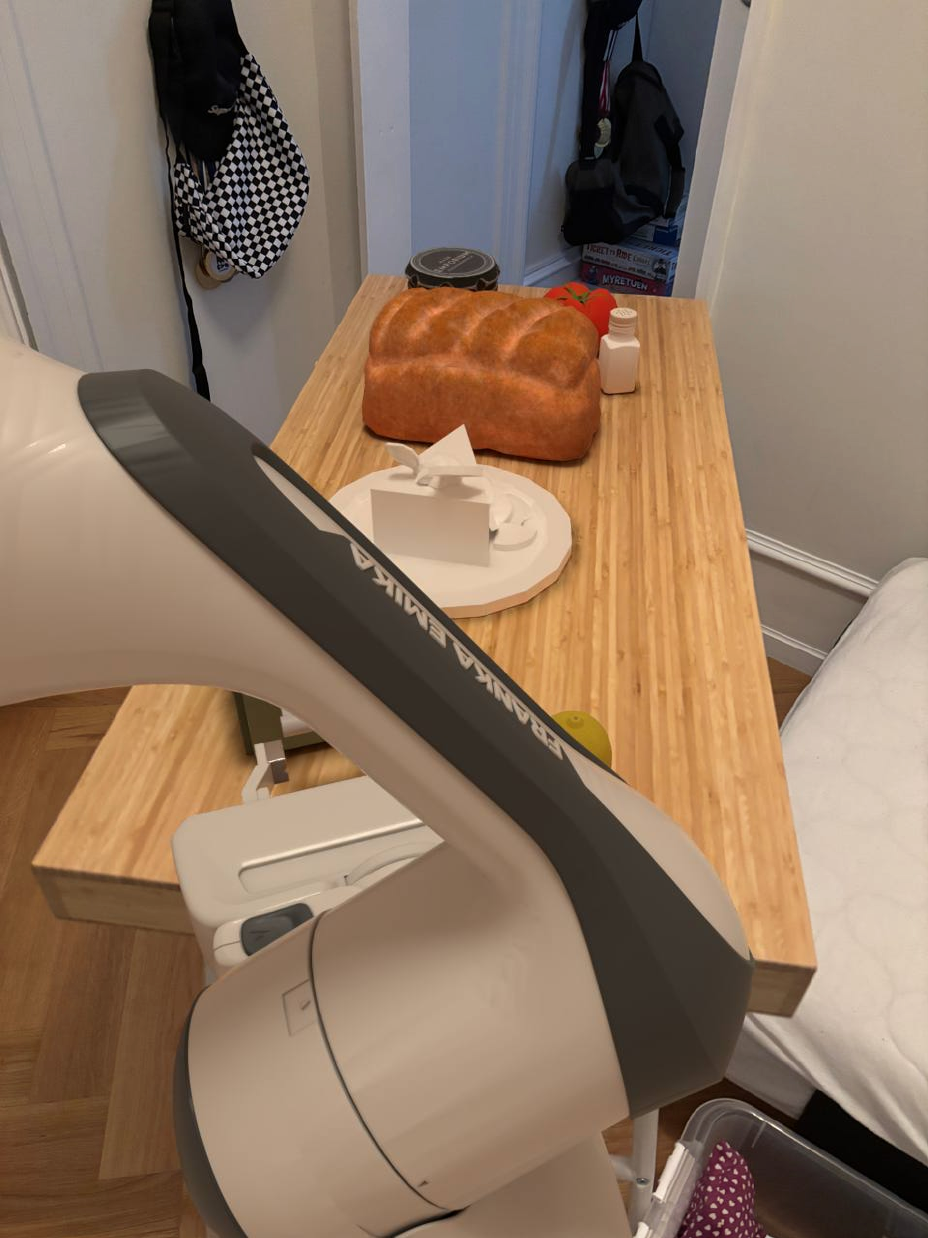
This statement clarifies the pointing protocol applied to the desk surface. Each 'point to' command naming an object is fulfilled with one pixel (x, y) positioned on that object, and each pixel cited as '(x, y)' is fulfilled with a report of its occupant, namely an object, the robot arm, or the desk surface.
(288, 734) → the drawer
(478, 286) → the container
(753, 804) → the desk surface
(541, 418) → the bread
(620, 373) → the pepper shaker
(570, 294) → the tomato
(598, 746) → the lemon
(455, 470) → the dish
